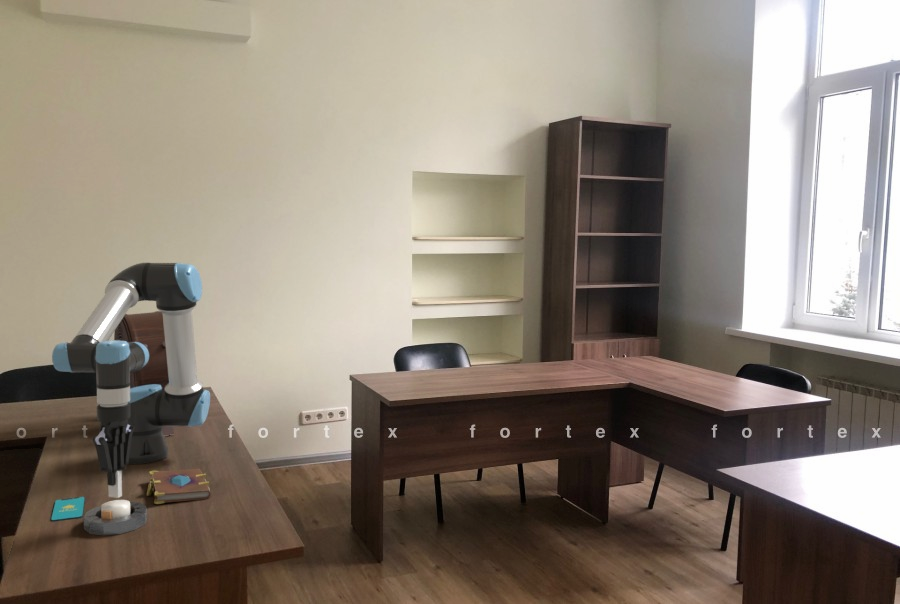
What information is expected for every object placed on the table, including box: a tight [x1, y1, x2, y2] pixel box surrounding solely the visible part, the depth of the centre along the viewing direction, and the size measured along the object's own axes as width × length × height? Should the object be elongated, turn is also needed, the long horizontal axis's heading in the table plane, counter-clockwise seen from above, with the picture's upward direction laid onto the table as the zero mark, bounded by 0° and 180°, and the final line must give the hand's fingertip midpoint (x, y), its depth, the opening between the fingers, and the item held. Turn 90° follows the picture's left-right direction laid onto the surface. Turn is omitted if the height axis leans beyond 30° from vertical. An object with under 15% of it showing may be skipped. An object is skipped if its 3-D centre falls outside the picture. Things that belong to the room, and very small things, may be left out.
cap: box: [100, 499, 131, 519], centre depth 181 cm, size 8×7×5 cm
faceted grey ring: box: [83, 501, 148, 536], centre depth 181 cm, size 14×14×3 cm
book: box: [146, 468, 212, 505], centre depth 207 cm, size 16×25×5 cm, turn 26°
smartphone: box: [50, 496, 86, 522], centre depth 190 cm, size 7×1×15 cm
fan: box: [113, 310, 175, 435], centre depth 268 cm, size 41×18×44 cm, turn 34°
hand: (115, 496), depth 181 cm, fingers closed
